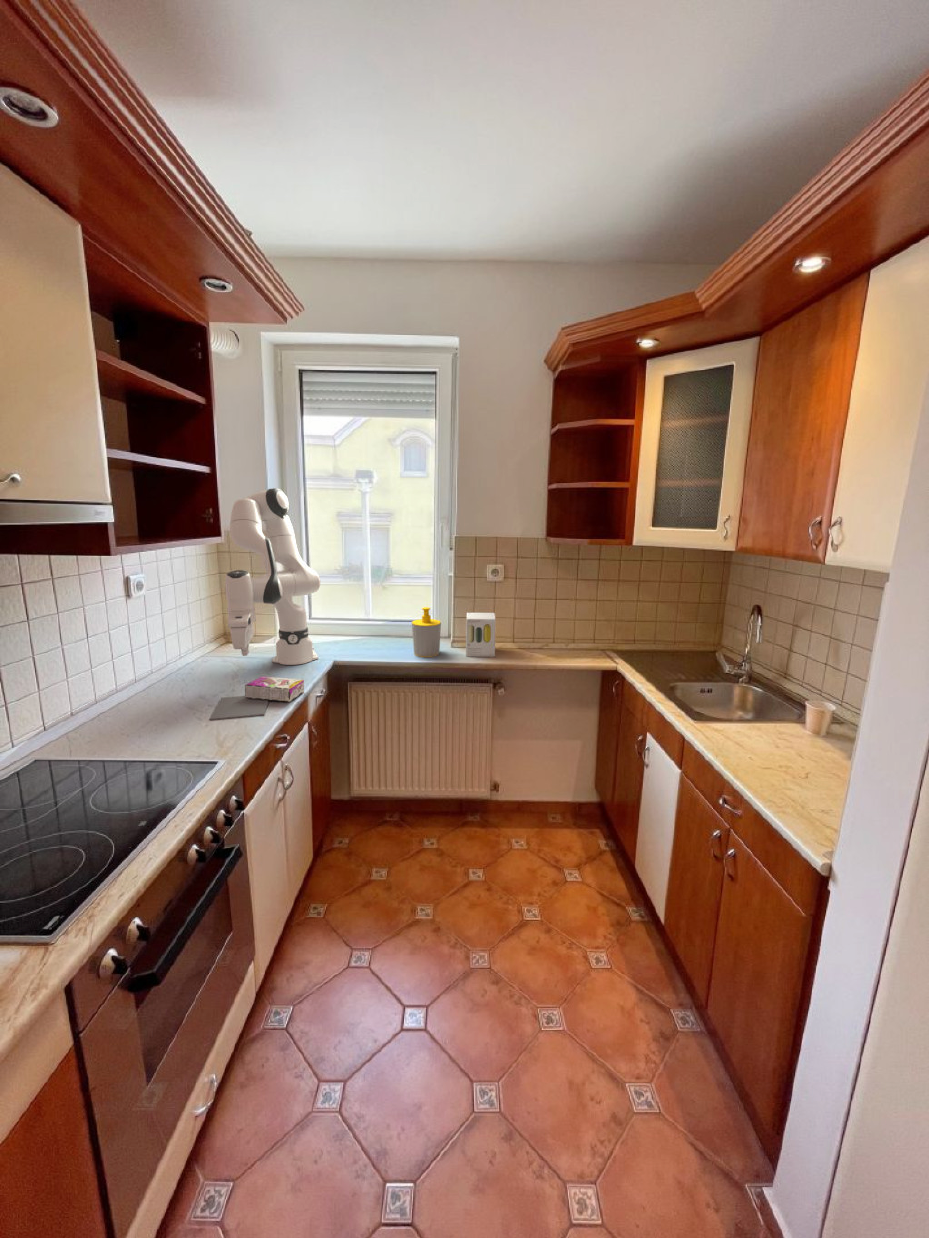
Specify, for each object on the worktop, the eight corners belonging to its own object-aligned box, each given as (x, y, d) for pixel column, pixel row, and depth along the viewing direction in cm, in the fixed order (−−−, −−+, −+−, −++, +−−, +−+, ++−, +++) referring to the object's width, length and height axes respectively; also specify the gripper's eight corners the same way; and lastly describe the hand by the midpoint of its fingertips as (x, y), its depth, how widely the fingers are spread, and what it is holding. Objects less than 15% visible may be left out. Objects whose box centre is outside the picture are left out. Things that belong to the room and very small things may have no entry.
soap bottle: (441, 649, 235) (440, 604, 230) (440, 657, 222) (440, 610, 217) (413, 649, 235) (412, 605, 230) (411, 657, 222) (410, 610, 217)
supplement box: (465, 656, 224) (465, 618, 220) (466, 648, 237) (466, 612, 233) (495, 657, 224) (496, 618, 220) (494, 648, 237) (495, 612, 233)
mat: (221, 699, 174) (221, 697, 174) (270, 694, 178) (270, 693, 178) (209, 720, 157) (209, 718, 157) (264, 715, 161) (264, 713, 161)
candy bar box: (261, 675, 182) (304, 679, 180) (261, 688, 183) (304, 692, 181) (244, 684, 171) (289, 688, 169) (244, 698, 172) (289, 702, 170)
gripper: (237, 611, 186) (241, 647, 189) (226, 623, 167) (230, 663, 170) (255, 610, 187) (259, 646, 190) (246, 622, 168) (250, 662, 171)
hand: (245, 654), depth 180 cm, fingers closed
